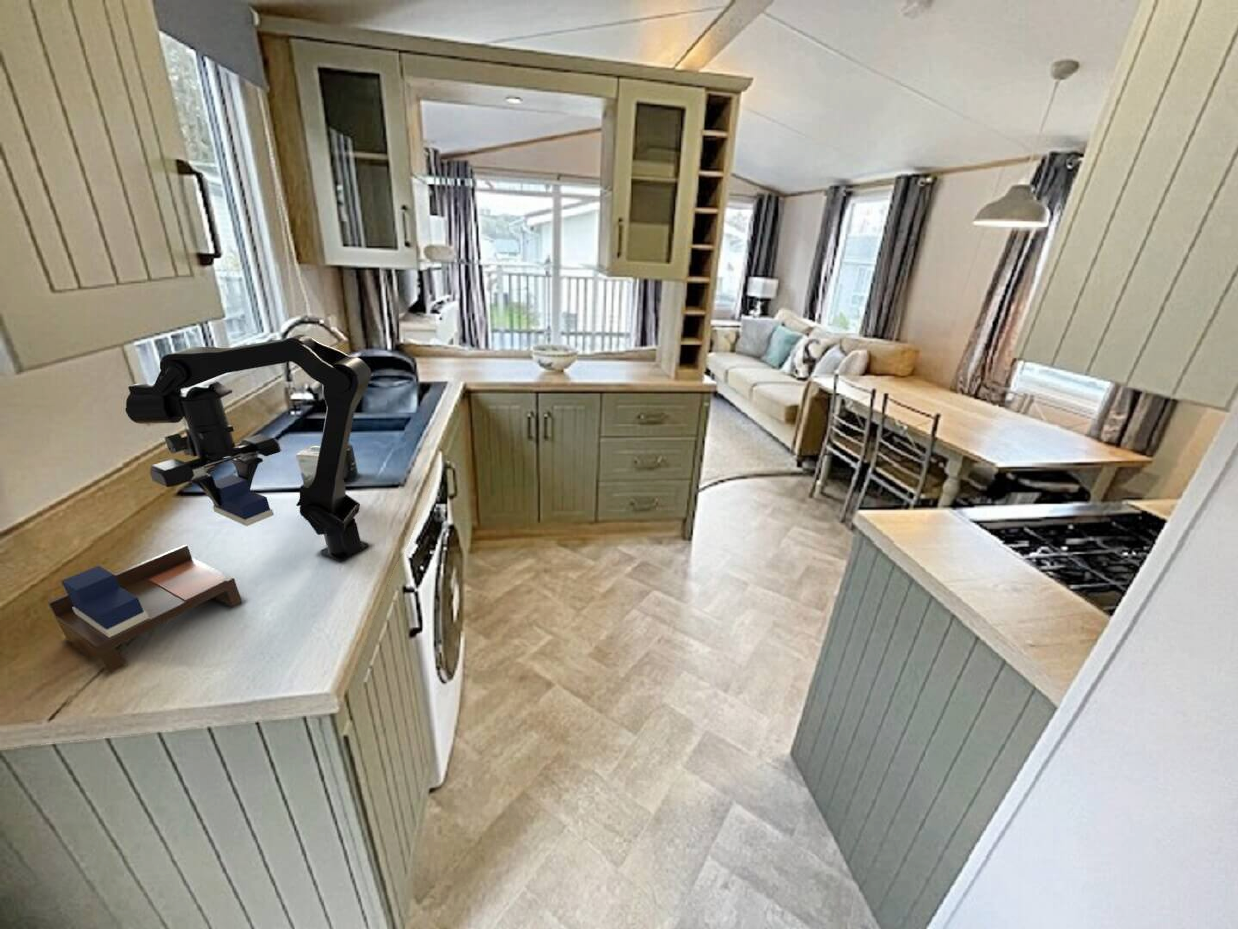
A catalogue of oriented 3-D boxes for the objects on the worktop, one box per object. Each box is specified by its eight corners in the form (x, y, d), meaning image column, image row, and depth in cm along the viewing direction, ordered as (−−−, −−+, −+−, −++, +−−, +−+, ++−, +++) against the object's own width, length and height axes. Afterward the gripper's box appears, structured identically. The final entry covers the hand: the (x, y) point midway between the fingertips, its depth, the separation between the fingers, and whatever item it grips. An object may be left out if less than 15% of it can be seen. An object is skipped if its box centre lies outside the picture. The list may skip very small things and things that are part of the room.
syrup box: (348, 502, 123) (335, 445, 117) (333, 514, 117) (319, 455, 112) (325, 501, 123) (311, 444, 117) (309, 513, 118) (294, 454, 112)
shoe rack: (242, 602, 89) (229, 566, 86) (110, 673, 74) (89, 632, 72) (198, 579, 95) (185, 544, 92) (67, 640, 80) (46, 601, 77)
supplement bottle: (363, 479, 135) (354, 435, 130) (335, 487, 130) (324, 442, 125) (353, 471, 139) (344, 428, 134) (326, 478, 135) (315, 435, 130)
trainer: (274, 515, 97) (265, 486, 94) (246, 526, 93) (237, 496, 90) (241, 501, 102) (232, 473, 99) (214, 511, 98) (204, 482, 95)
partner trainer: (149, 618, 78) (135, 585, 75) (109, 638, 74) (92, 603, 72) (114, 596, 83) (100, 564, 80) (75, 613, 79) (58, 581, 76)
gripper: (239, 401, 102) (260, 473, 109) (120, 429, 88) (152, 510, 94) (271, 410, 97) (291, 485, 104) (151, 441, 83) (183, 526, 89)
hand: (232, 500), depth 98 cm, fingers closed on trainer, 4 cm apart
